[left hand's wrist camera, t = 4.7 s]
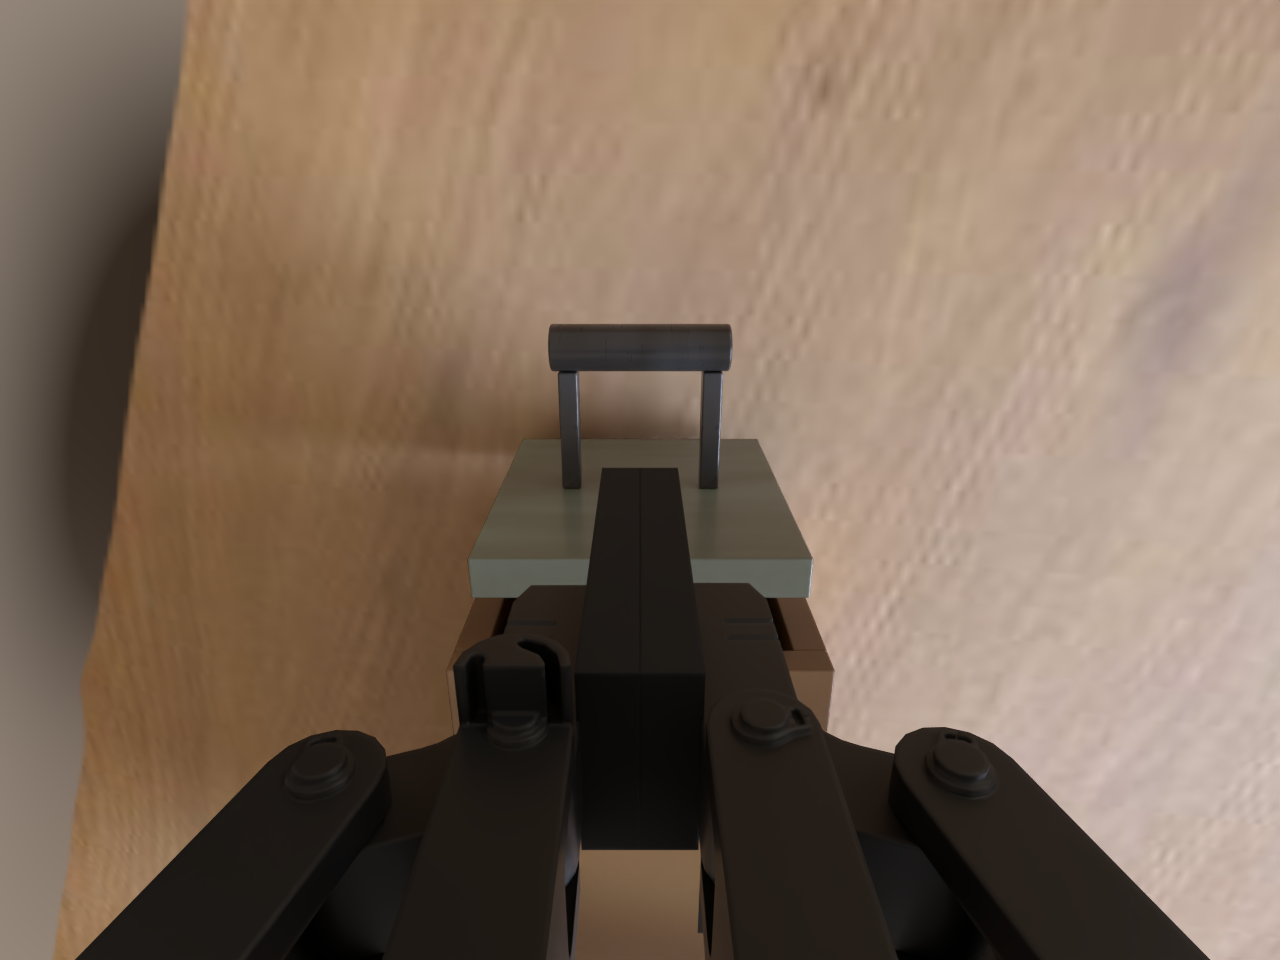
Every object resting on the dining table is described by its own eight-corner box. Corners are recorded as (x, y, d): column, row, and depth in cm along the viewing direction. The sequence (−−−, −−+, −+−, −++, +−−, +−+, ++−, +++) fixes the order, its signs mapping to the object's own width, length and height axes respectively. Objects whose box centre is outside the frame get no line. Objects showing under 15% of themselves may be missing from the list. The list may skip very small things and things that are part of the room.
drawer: (513, 301, 26) (447, 361, 17) (766, 300, 26) (833, 361, 17) (546, 813, 35) (513, 1031, 26) (733, 813, 35) (766, 1031, 26)
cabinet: (515, 495, 30) (445, 670, 19) (764, 495, 30) (835, 670, 19) (540, 857, 38) (500, 1131, 27) (739, 857, 38) (780, 1131, 27)
